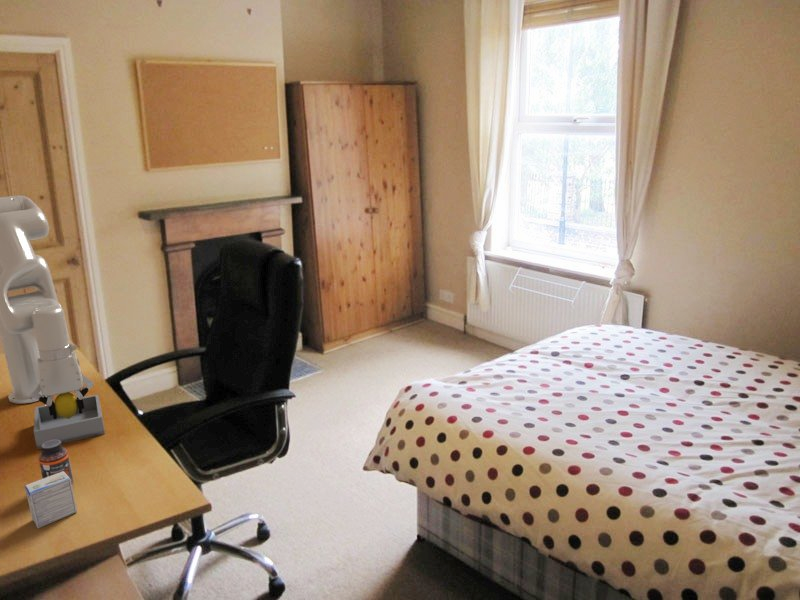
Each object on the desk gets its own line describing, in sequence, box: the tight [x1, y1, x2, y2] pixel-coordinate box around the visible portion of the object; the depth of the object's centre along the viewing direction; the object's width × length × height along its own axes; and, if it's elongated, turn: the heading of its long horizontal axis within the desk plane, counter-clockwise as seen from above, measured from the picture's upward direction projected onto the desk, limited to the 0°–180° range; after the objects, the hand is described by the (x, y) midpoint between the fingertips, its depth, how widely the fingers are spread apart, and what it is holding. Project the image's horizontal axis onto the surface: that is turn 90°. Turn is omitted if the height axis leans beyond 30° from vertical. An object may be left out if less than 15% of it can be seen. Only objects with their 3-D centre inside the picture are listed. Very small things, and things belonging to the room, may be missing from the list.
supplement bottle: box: [38, 440, 74, 486], centre depth 146 cm, size 6×6×11 cm
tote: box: [33, 394, 106, 450], centre depth 174 cm, size 16×16×5 cm
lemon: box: [54, 392, 78, 419], centre depth 172 cm, size 6×6×8 cm
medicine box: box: [24, 471, 78, 529], centre depth 136 cm, size 8×4×9 cm, turn 133°
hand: (68, 413), depth 173 cm, fingers closed on lemon, 5 cm apart
